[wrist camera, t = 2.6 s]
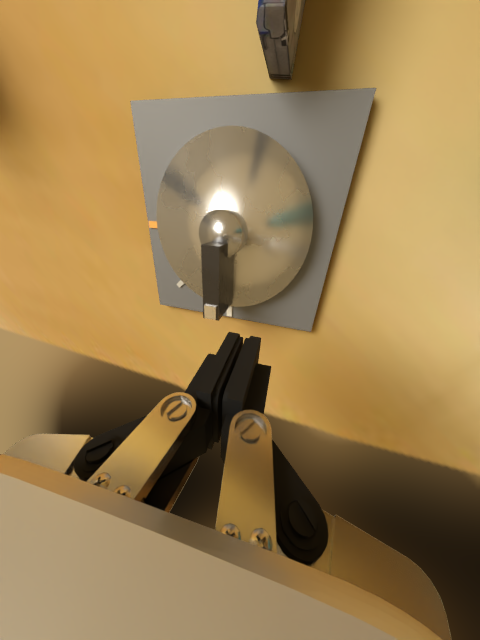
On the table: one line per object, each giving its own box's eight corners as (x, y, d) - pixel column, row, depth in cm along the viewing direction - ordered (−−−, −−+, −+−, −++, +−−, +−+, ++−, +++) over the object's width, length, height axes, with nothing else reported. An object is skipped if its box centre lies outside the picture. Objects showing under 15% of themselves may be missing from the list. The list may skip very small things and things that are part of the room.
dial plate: (371, 95, 13) (377, 86, 12) (310, 327, 22) (310, 332, 21) (139, 106, 17) (128, 99, 16) (164, 301, 26) (159, 304, 25)
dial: (154, 132, 17) (97, 102, 12) (333, 129, 14) (348, 89, 9) (172, 291, 24) (140, 311, 19) (295, 312, 21) (292, 341, 16)
